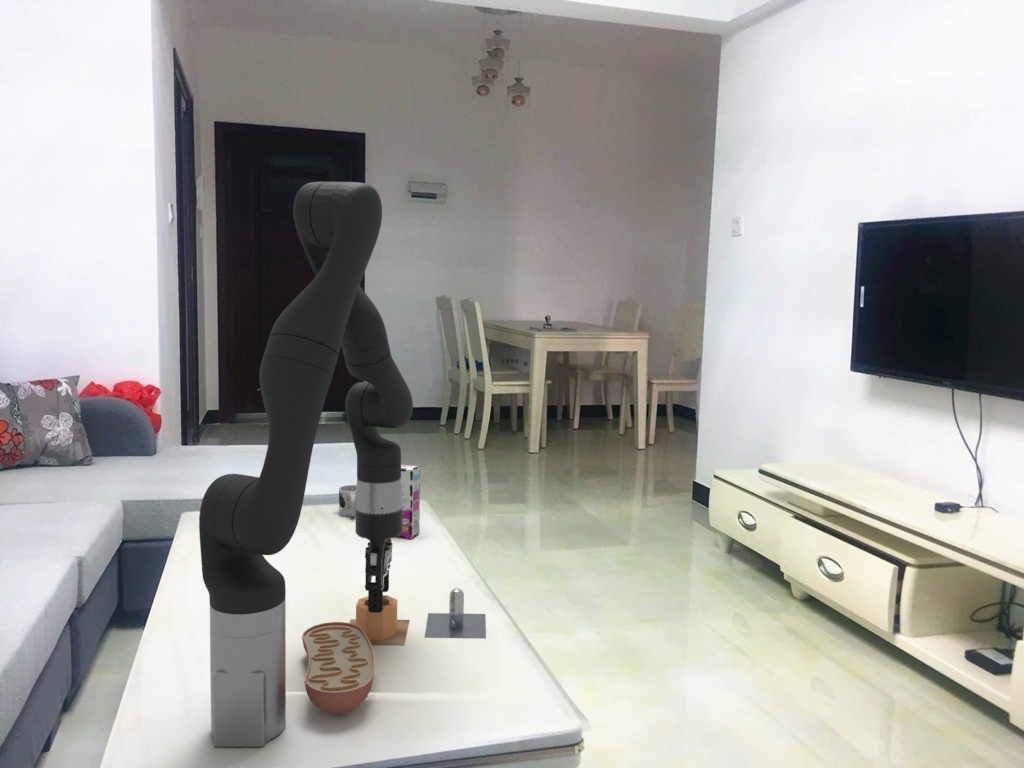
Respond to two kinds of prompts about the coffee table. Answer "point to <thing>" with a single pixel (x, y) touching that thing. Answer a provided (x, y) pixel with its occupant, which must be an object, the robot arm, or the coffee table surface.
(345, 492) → the mug
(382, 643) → the stand
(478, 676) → the coffee table surface
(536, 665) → the coffee table surface
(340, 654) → the anatomical model
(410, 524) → the candy bar box
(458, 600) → the silver peg on base
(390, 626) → the collar
